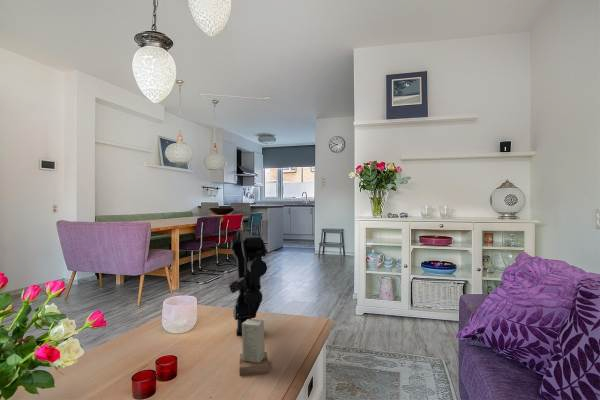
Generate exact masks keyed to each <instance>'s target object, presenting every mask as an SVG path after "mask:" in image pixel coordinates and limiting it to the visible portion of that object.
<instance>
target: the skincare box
mask: <svg viewBox="0 0 600 400" xmlns="http://www.w3.org/2000/svg"><path fill="white" fill-rule="evenodd" d="M264 321H265V320H260V319H254V318H251V319H247V320H246V321H244V322H243V323H242V335H241V337H242V338H241V339H242V341H241V342H242V347H241V348H242V354H243V360H244V361H251V362H257V363H260V362H261V360H262V359H263V358H264V357H265V352H266V351H265V322H264Z"/></svg>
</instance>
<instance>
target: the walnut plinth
mask: <svg viewBox="0 0 600 400" xmlns="http://www.w3.org/2000/svg"><path fill="white" fill-rule="evenodd" d="M269 367H270V365H269V358H268V353H267V351H265V357H264V358H263V359H262V360H261V362H260V363H257V362H251V361H244V360H243V353H239V376H247V375H248V376H250V375H259V374H260V375H261V374H268V373H269Z"/></svg>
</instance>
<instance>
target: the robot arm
mask: <svg viewBox="0 0 600 400" xmlns="http://www.w3.org/2000/svg"><path fill="white" fill-rule="evenodd" d="M230 251H231V252H232V253H231V254H232V256H233V258H234V259H235V260H236V271H237V273H236V274H237V279H235V280H232V281H230V282H228V288H229V290H230V292H231V294H235V293H236V292H238V296H237V298H236V300H235V304H234V307H233V311H232V312H233V313H232V315H233V318H234V320H235V321H237V326H236V327H237V328H236V331H235V333H236V336H242V323H243V322H244V321H246V320H247V319H255V318H256V317H257V313H258V310H259V308H260V306H261V304H262V301H263V291H261V289H262V288H261V287H262V286H261V278H262V276H264V275H265V274H266V273H267V271H268V265H267V263H266V262H265V261H264V260H263V259H262V258H263V257H266V256H267V247H266V244H265V242H264V239H262V237H261V236H259V235H258V236H257V235H256V236H255V235H253V234H252V233H250V230H248V229H247V230H246V229H244V230H241V229H239V230H237V231H236V234H235V235H234V236H233V237H232V238H231V240H230Z"/></svg>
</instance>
